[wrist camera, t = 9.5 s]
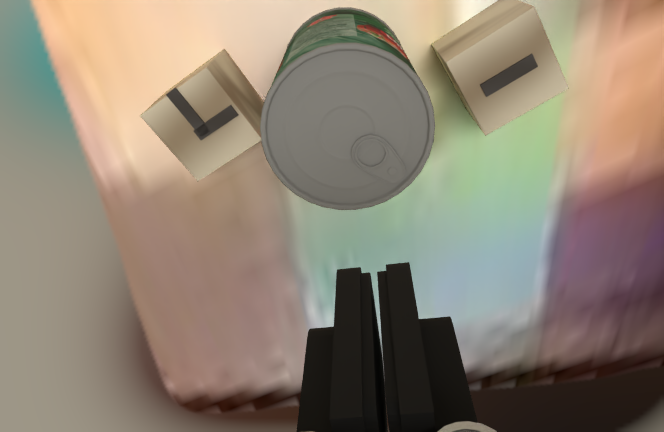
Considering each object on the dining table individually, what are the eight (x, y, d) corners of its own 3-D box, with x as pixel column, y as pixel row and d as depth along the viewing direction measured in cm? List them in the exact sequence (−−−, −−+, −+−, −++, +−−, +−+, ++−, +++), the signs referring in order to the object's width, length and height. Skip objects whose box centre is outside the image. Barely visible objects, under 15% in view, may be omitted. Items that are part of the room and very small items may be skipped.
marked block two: (272, 112, 33) (261, 140, 28) (215, 150, 34) (197, 182, 30) (223, 47, 31) (204, 66, 26) (165, 89, 32) (137, 115, 28)
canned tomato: (258, 78, 31) (224, 141, 22) (338, -23, 28) (338, -1, 19) (349, 153, 34) (353, 238, 25) (431, 67, 31) (472, 126, 21)
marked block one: (537, 66, 31) (570, 89, 26) (466, 108, 32) (485, 136, 28) (505, -5, 29) (535, 6, 24) (430, 43, 30) (446, 62, 26)
